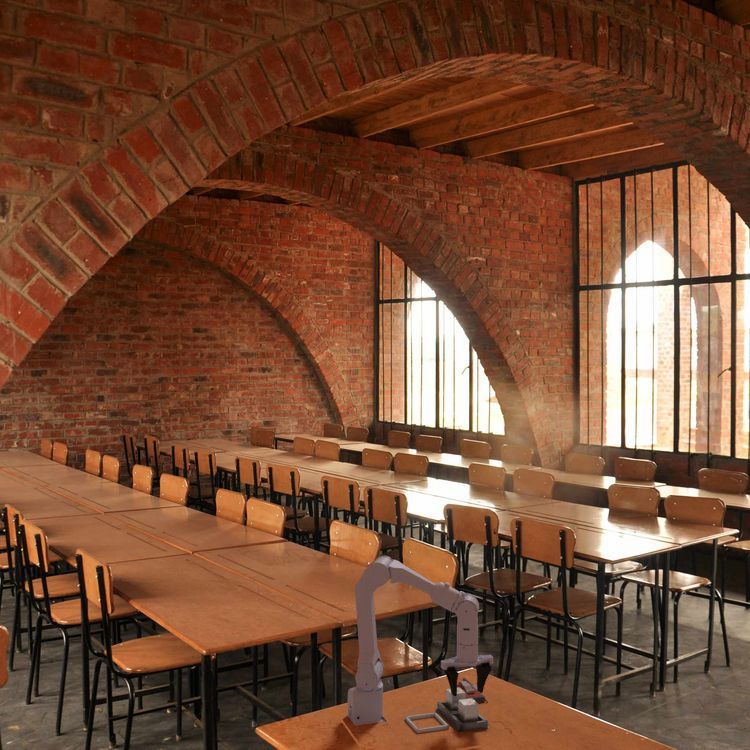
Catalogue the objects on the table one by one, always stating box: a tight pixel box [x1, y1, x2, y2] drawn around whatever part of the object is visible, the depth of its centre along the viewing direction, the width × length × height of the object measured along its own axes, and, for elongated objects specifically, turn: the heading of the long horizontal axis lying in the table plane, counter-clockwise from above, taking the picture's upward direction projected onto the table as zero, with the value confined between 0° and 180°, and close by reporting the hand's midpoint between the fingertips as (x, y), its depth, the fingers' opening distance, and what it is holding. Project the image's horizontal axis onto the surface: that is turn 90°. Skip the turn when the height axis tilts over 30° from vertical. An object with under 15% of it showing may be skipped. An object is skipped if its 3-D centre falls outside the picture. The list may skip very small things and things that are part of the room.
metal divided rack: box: [434, 700, 490, 733], centre depth 225 cm, size 9×16×3 cm, turn 19°
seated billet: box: [445, 687, 466, 712], centre depth 229 cm, size 4×4×6 cm
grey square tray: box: [404, 711, 450, 734], centre depth 222 cm, size 9×9×2 cm
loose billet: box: [458, 698, 479, 724], centre depth 222 cm, size 4×4×6 cm
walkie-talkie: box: [457, 677, 489, 704], centre depth 245 cm, size 9×4×20 cm
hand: (467, 693), depth 222 cm, fingers open, 7 cm apart
